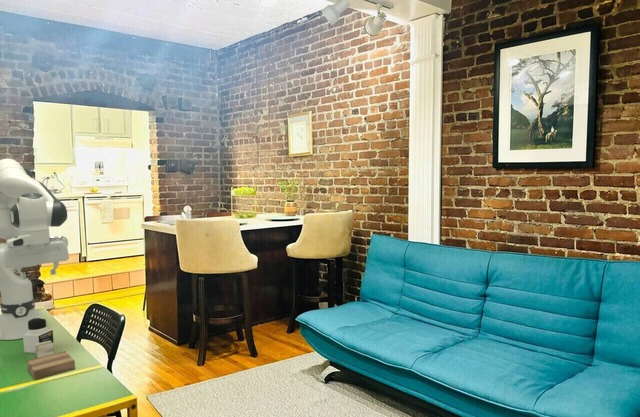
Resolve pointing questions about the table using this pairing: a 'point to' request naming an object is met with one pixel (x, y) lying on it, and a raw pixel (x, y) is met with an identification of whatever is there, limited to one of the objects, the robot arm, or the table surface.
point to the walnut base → (50, 365)
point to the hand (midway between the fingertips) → (38, 276)
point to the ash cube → (44, 349)
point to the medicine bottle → (36, 334)
